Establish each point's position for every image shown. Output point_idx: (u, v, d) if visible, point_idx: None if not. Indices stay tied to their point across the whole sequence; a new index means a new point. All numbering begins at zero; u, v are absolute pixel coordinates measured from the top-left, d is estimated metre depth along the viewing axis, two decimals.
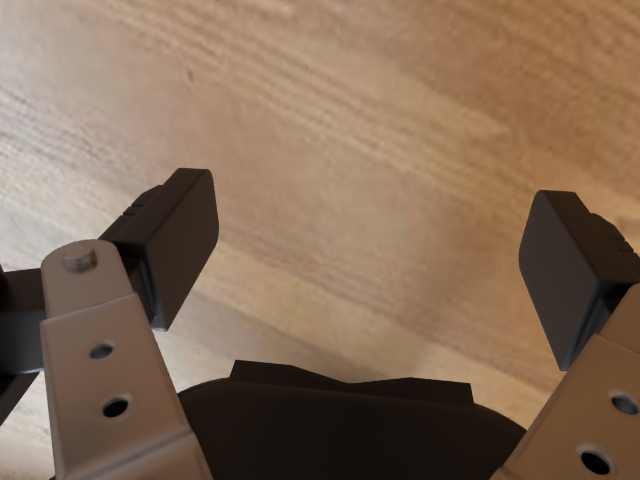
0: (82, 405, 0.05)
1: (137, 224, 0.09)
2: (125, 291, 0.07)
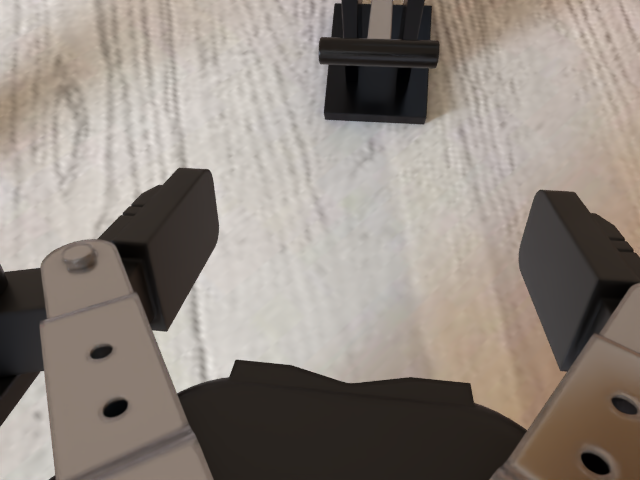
0: (82, 405, 0.05)
1: (137, 224, 0.09)
2: (125, 291, 0.07)
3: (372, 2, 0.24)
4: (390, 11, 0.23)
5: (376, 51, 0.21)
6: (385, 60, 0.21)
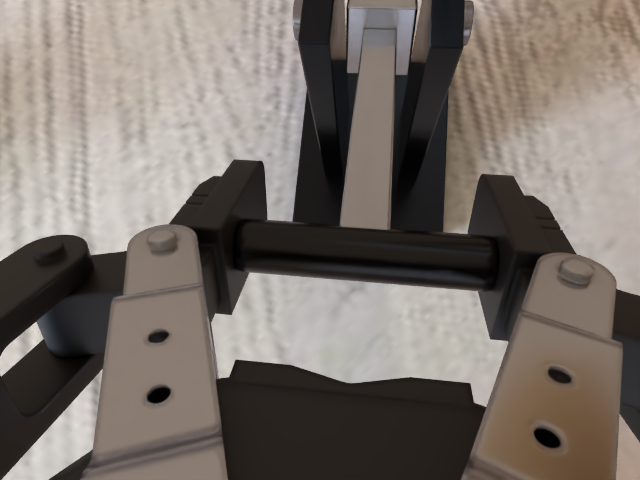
0: (130, 386, 0.05)
1: (207, 211, 0.10)
2: (195, 279, 0.07)
3: (354, 123, 0.12)
4: (389, 148, 0.12)
5: (358, 262, 0.10)
6: (378, 278, 0.10)
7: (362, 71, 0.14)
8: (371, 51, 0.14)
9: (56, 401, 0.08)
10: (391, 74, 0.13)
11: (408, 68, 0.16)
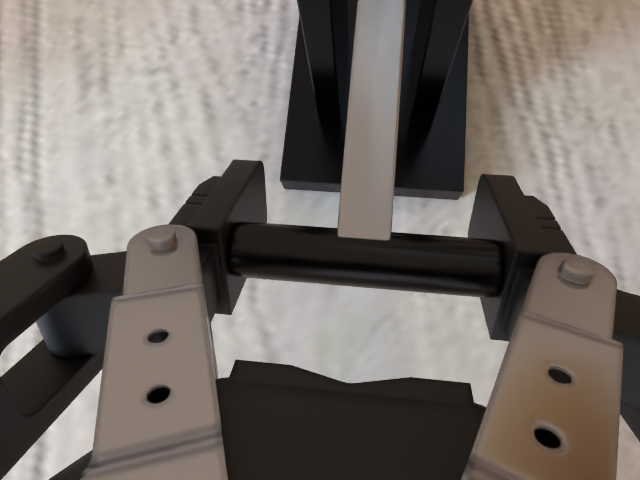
0: (129, 386, 0.05)
1: (207, 211, 0.10)
2: (195, 279, 0.07)
3: (353, 80, 0.10)
4: (394, 120, 0.10)
5: (357, 277, 0.09)
6: (378, 288, 0.10)
7: None
8: None
9: (56, 400, 0.08)
10: None
11: None
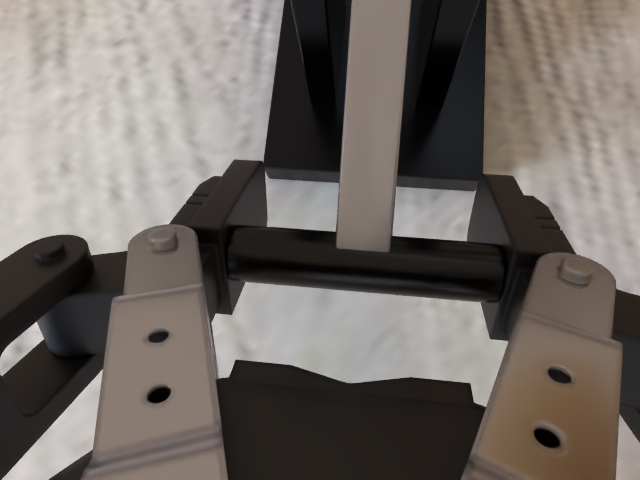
0: (130, 386, 0.05)
1: (207, 211, 0.10)
2: (196, 279, 0.07)
3: (350, 64, 0.09)
4: (397, 116, 0.09)
5: (356, 286, 0.09)
6: None
7: None
8: None
9: (56, 400, 0.08)
10: None
11: None
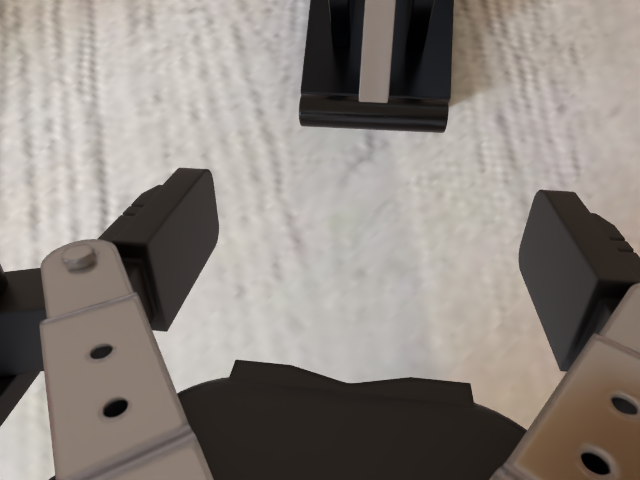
0: (82, 405, 0.05)
1: (137, 224, 0.09)
2: (125, 291, 0.07)
3: (366, 1, 0.17)
4: (391, 29, 0.17)
5: (369, 124, 0.17)
6: None
7: None
8: None
9: None
10: None
11: None
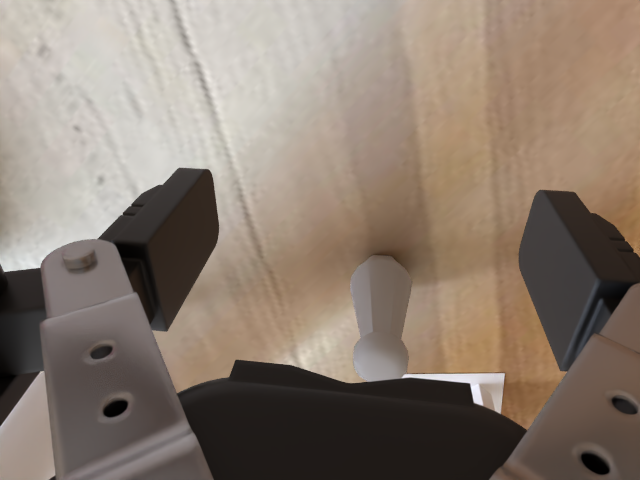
0: (82, 405, 0.05)
1: (137, 224, 0.09)
2: (125, 291, 0.07)
3: None
4: None
5: None
6: None
7: None
8: None
9: None
10: None
11: None
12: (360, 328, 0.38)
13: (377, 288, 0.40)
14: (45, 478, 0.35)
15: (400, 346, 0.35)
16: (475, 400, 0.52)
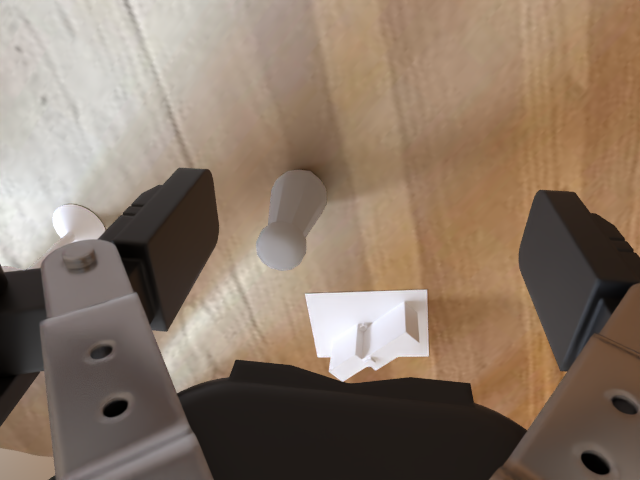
0: (82, 405, 0.05)
1: (137, 224, 0.09)
2: (125, 291, 0.07)
3: None
4: None
5: None
6: None
7: None
8: None
9: None
10: None
11: None
12: (268, 224, 0.42)
13: (287, 191, 0.44)
14: None
15: (295, 232, 0.39)
16: (399, 315, 0.55)
